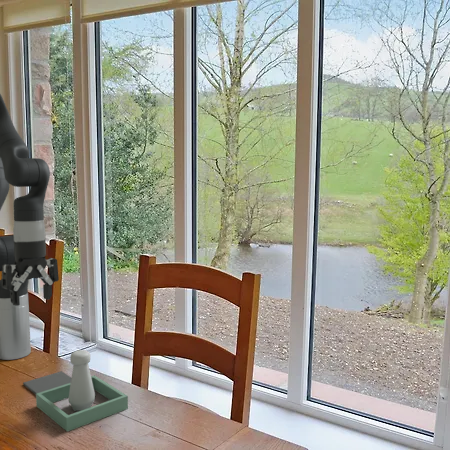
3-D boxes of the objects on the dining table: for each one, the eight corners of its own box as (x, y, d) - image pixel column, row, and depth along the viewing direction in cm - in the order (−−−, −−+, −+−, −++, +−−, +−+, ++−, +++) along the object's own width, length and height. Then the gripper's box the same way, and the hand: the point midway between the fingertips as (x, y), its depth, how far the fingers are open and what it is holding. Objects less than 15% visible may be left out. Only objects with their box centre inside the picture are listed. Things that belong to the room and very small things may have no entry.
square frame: (36, 406, 123) (35, 393, 123) (94, 387, 133) (94, 375, 133) (67, 431, 113) (66, 417, 112) (128, 408, 123) (127, 395, 122)
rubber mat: (23, 384, 134) (23, 382, 134) (61, 373, 141) (61, 371, 141) (41, 399, 127) (41, 396, 127) (80, 386, 134) (80, 383, 134)
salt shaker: (63, 410, 122) (60, 354, 120) (81, 399, 127) (79, 345, 125) (83, 416, 119) (81, 359, 117) (100, 405, 124) (99, 350, 122)
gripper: (47, 234, 146) (48, 295, 147) (-6, 239, 135) (-3, 304, 136) (63, 237, 141) (64, 299, 142) (10, 242, 130) (12, 309, 131)
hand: (31, 302), depth 139 cm, fingers open, 8 cm apart
